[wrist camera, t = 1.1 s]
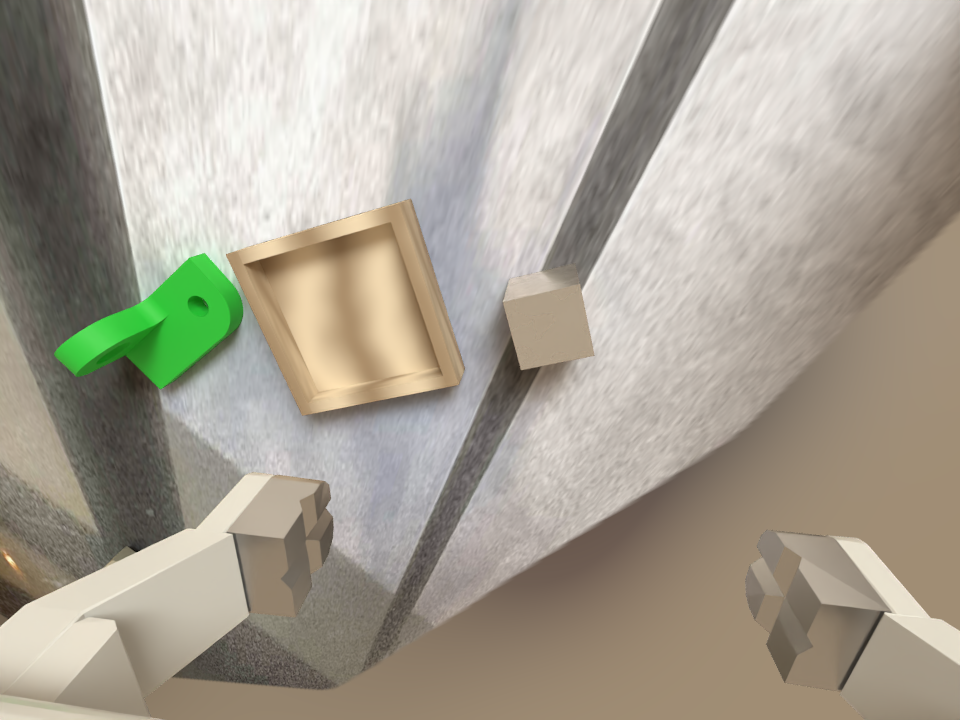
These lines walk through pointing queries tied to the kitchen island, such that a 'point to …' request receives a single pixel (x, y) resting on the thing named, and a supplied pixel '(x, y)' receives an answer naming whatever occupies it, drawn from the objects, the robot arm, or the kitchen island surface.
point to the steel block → (547, 317)
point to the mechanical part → (162, 326)
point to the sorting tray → (352, 310)
